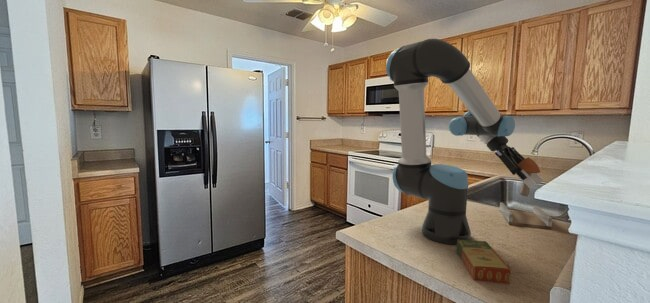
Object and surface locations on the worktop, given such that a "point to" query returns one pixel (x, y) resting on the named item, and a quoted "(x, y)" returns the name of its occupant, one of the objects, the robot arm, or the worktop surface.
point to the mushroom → (529, 168)
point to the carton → (483, 262)
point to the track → (526, 217)
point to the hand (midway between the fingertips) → (536, 184)
